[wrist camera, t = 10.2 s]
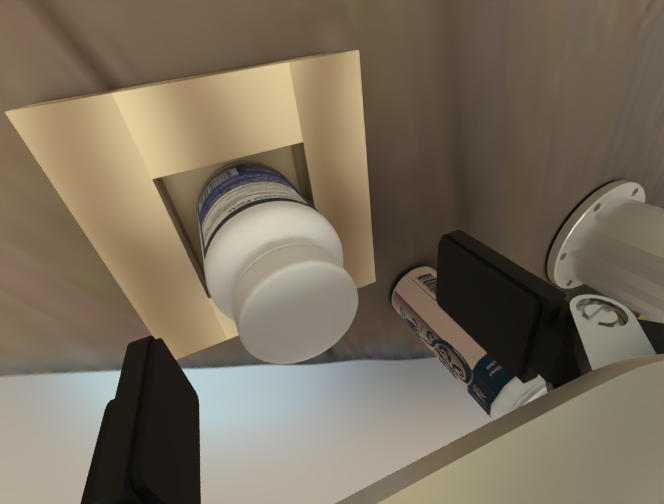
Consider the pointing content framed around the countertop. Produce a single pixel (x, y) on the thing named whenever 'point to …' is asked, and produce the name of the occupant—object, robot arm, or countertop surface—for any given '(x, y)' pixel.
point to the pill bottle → (273, 264)
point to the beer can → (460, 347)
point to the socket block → (202, 173)
